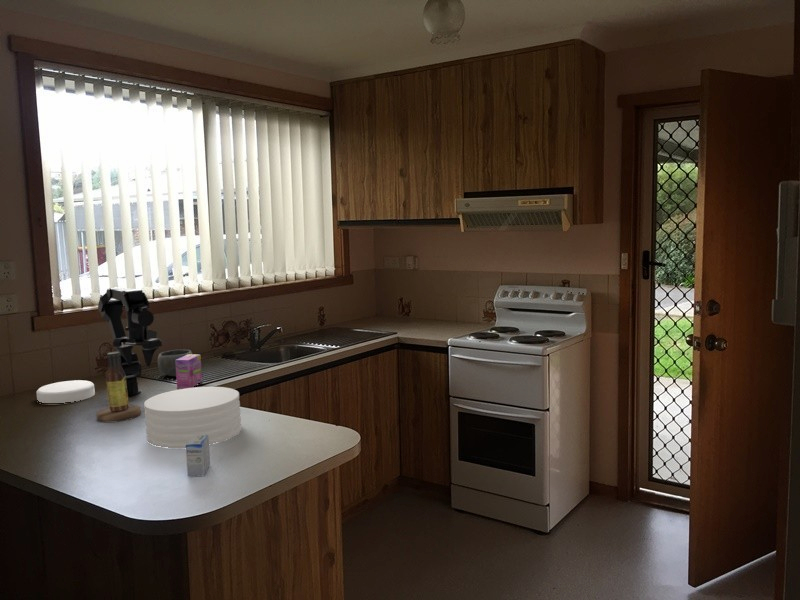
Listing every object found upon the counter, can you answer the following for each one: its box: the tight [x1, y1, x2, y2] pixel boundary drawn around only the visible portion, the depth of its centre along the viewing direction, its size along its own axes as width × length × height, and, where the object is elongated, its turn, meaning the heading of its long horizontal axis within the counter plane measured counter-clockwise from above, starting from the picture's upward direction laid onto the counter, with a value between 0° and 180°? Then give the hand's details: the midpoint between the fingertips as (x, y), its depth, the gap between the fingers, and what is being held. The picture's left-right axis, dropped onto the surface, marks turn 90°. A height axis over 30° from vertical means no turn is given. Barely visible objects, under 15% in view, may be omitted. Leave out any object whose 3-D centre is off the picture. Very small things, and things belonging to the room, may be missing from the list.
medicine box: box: [185, 435, 211, 477], centre depth 183 cm, size 8×4×9 cm, turn 5°
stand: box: [96, 404, 142, 422], centre depth 239 cm, size 14×14×2 cm
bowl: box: [157, 349, 193, 377], centre depth 297 cm, size 15×15×10 cm
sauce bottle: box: [105, 351, 129, 412], centre depth 237 cm, size 6×6×20 cm
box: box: [175, 353, 203, 390], centre depth 277 cm, size 10×6×12 cm, turn 168°
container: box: [35, 379, 96, 404], centre depth 267 cm, size 20×20×5 cm
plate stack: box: [143, 386, 242, 448], centre depth 215 cm, size 28×28×12 cm
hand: (139, 365), depth 257 cm, fingers open, 9 cm apart
